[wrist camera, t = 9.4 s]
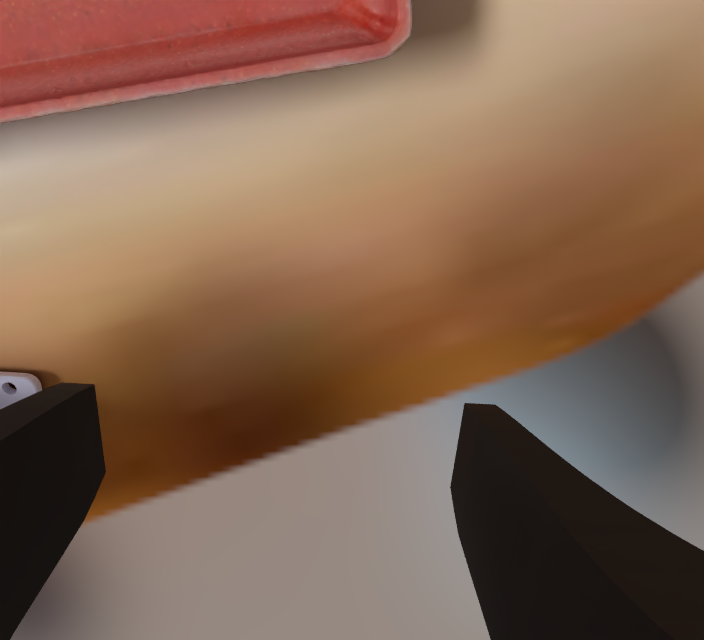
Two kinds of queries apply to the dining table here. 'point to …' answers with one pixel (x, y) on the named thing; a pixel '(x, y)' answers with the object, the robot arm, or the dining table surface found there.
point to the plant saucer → (177, 46)
